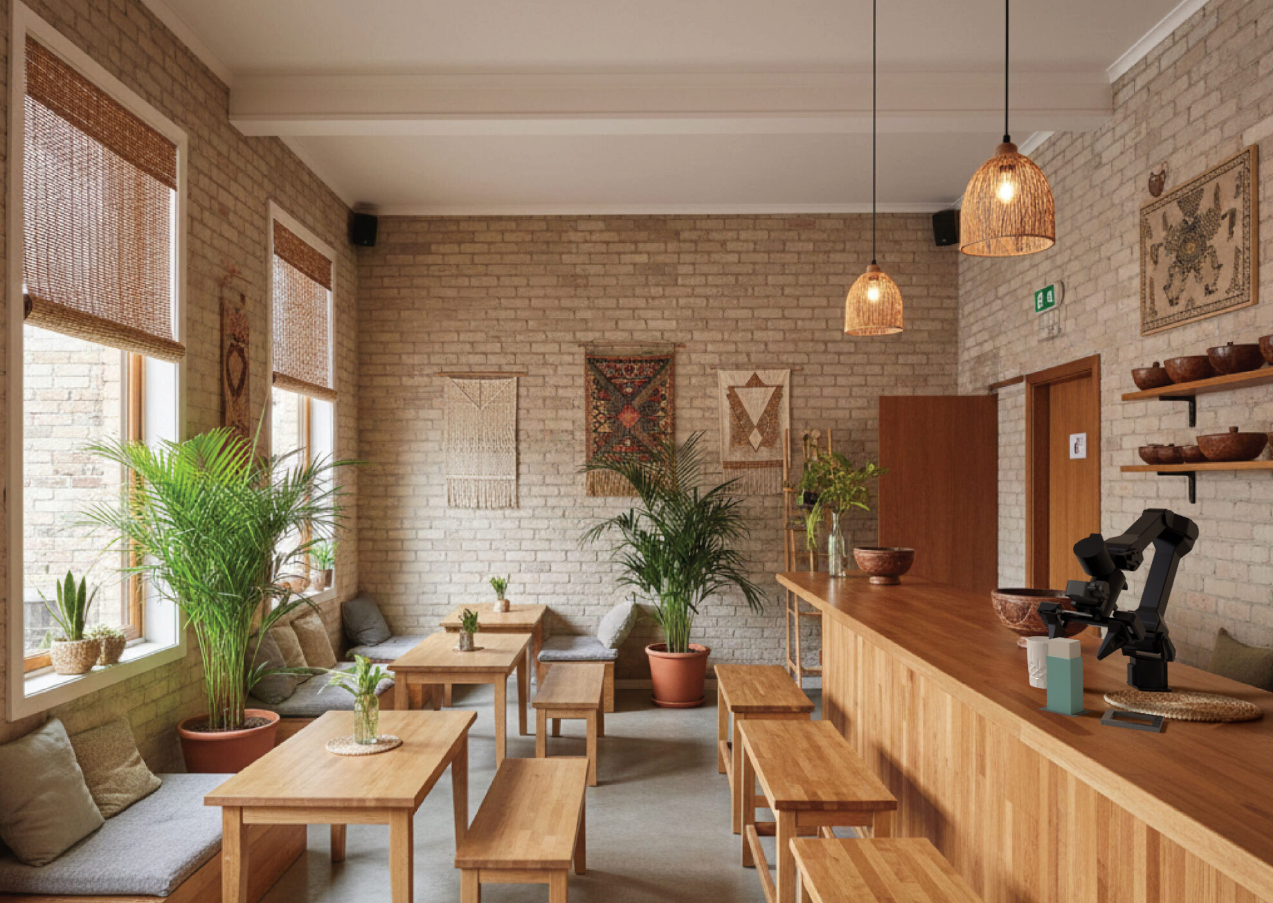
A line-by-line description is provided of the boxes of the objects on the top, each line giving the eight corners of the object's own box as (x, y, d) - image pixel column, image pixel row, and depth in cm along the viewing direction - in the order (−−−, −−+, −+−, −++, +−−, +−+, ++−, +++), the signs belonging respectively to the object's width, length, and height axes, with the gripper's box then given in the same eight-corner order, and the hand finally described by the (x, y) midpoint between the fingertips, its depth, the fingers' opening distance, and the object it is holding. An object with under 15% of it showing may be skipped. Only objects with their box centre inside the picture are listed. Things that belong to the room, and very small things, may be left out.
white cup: (1073, 693, 178) (1072, 644, 179) (1031, 691, 180) (1031, 642, 180) (1062, 684, 186) (1061, 637, 186) (1023, 682, 188) (1022, 635, 188)
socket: (1099, 712, 164) (1099, 705, 164) (1174, 722, 157) (1174, 715, 157) (1089, 727, 154) (1089, 720, 154) (1169, 739, 147) (1169, 731, 147)
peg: (1059, 705, 167) (1058, 637, 167) (1083, 710, 163) (1082, 640, 164) (1047, 709, 164) (1046, 639, 165) (1070, 714, 161) (1069, 643, 161)
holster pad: (1056, 705, 169) (1056, 703, 169) (1093, 713, 163) (1093, 711, 163) (1037, 711, 164) (1037, 709, 164) (1074, 720, 159) (1074, 717, 159)
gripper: (1041, 561, 177) (1010, 620, 170) (1137, 569, 162) (1109, 634, 155) (1061, 597, 182) (1033, 657, 175) (1158, 608, 166) (1130, 674, 160)
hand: (1073, 654), depth 166 cm, fingers open, 9 cm apart
